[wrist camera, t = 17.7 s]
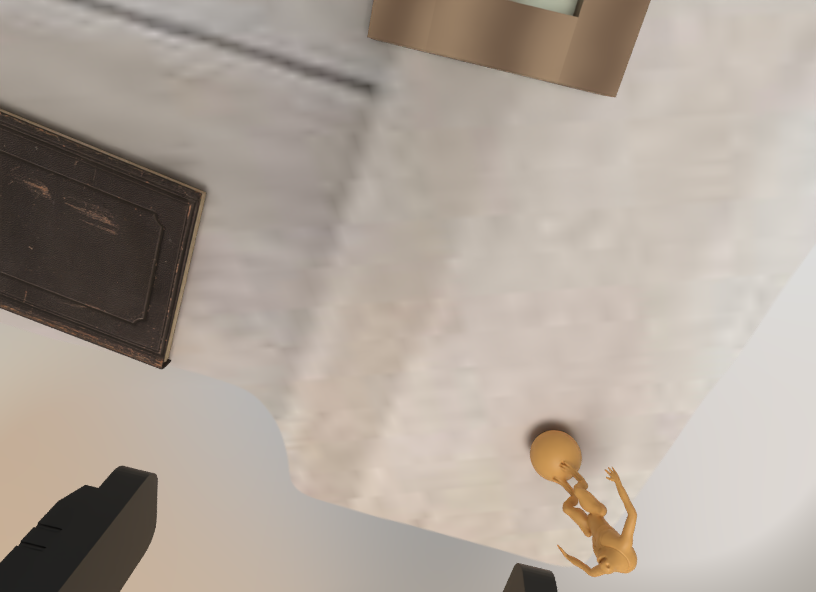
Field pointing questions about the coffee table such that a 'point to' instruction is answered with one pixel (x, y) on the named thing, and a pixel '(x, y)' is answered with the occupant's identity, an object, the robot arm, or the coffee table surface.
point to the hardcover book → (92, 241)
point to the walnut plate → (521, 36)
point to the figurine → (586, 504)
